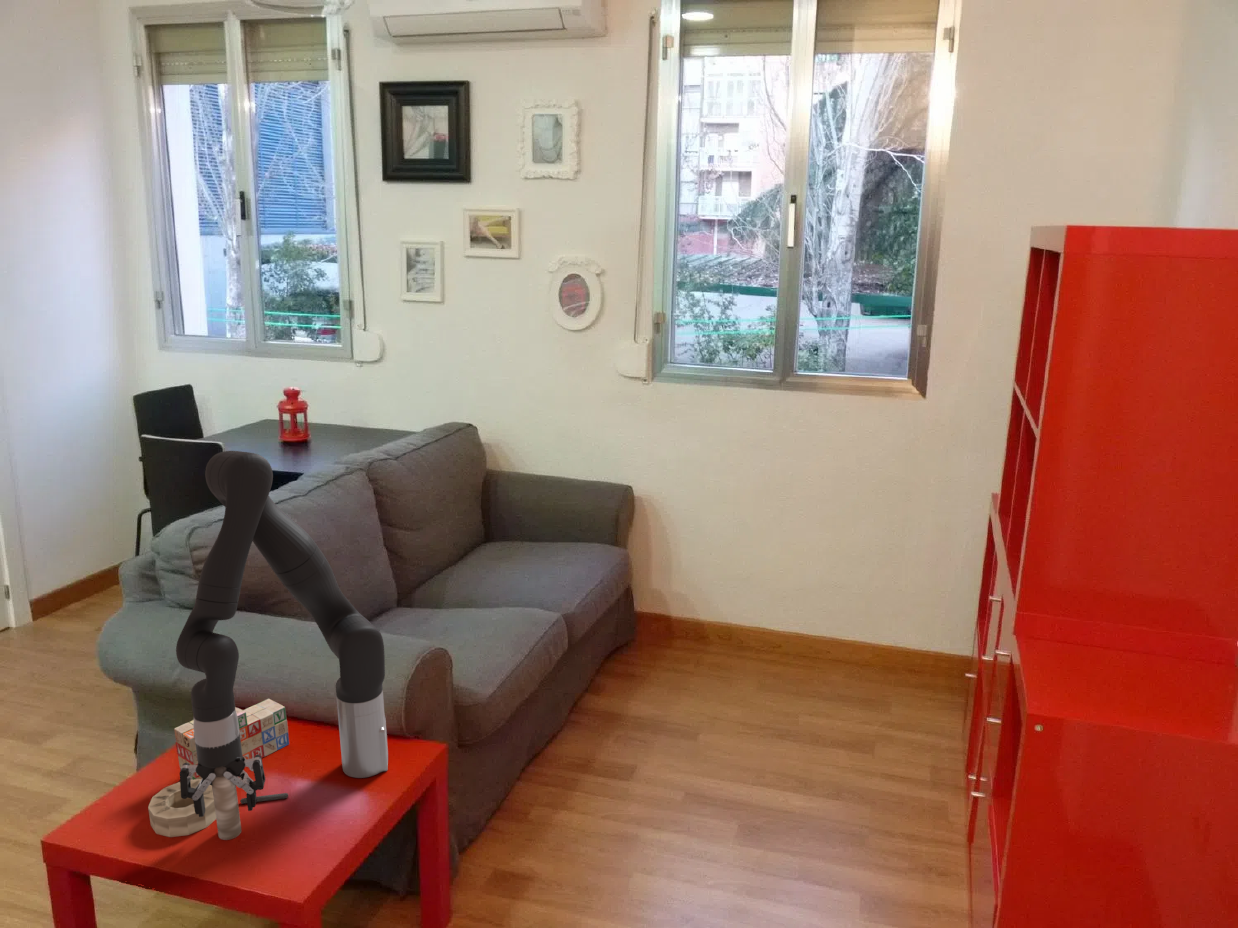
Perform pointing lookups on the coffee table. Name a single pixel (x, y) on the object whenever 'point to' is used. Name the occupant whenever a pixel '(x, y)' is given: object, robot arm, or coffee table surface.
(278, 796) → the dark grey rod
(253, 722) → the stack of blocks
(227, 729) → the robot arm
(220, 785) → the grey tipped beige rod
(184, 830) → the bead
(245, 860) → the coffee table surface
